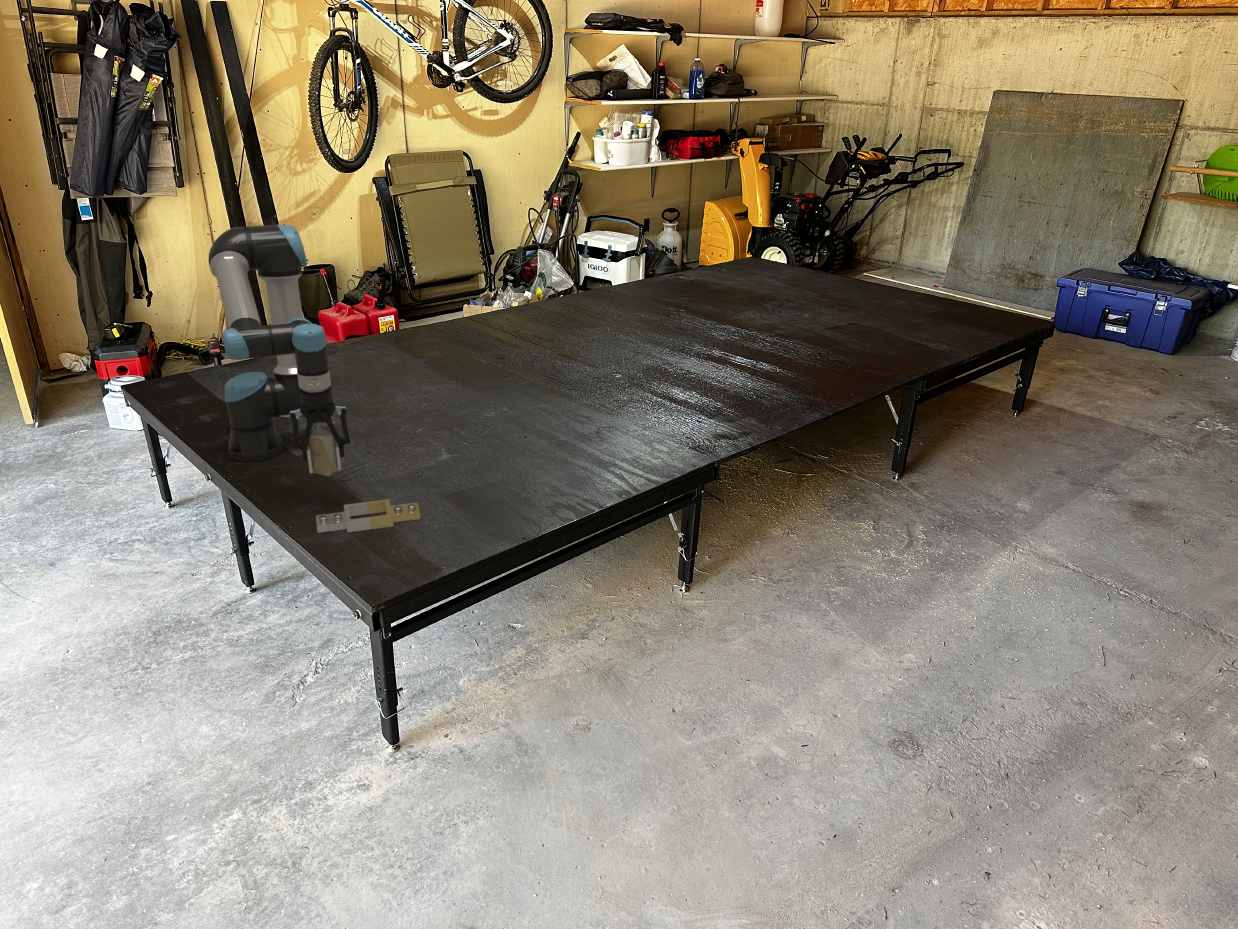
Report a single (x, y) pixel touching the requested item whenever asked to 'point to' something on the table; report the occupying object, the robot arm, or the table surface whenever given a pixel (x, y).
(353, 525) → the link
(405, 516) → the link
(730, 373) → the table surface
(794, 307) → the table surface
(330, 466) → the box
